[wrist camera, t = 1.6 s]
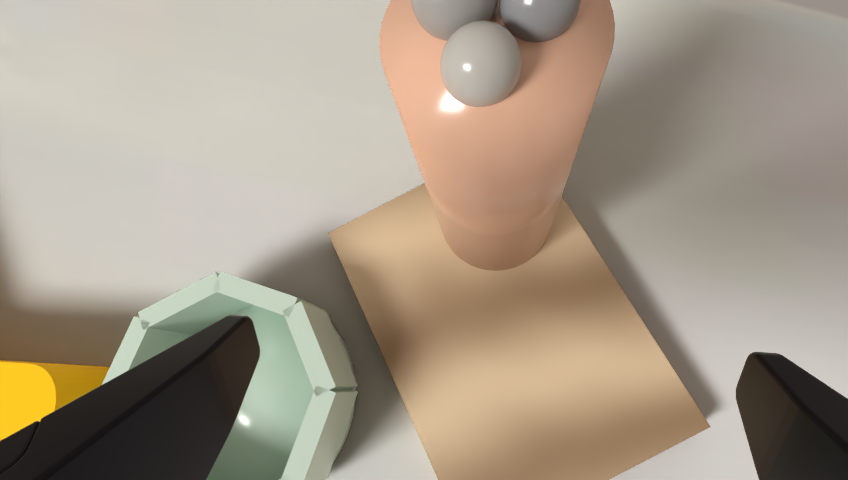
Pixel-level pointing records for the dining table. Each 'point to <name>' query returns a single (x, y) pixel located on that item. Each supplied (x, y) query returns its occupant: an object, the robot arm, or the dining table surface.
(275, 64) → the dining table surface
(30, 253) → the dining table surface
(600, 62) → the peach cylinder with balls
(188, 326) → the bowl
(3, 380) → the star
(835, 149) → the dining table surface
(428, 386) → the board
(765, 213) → the dining table surface
